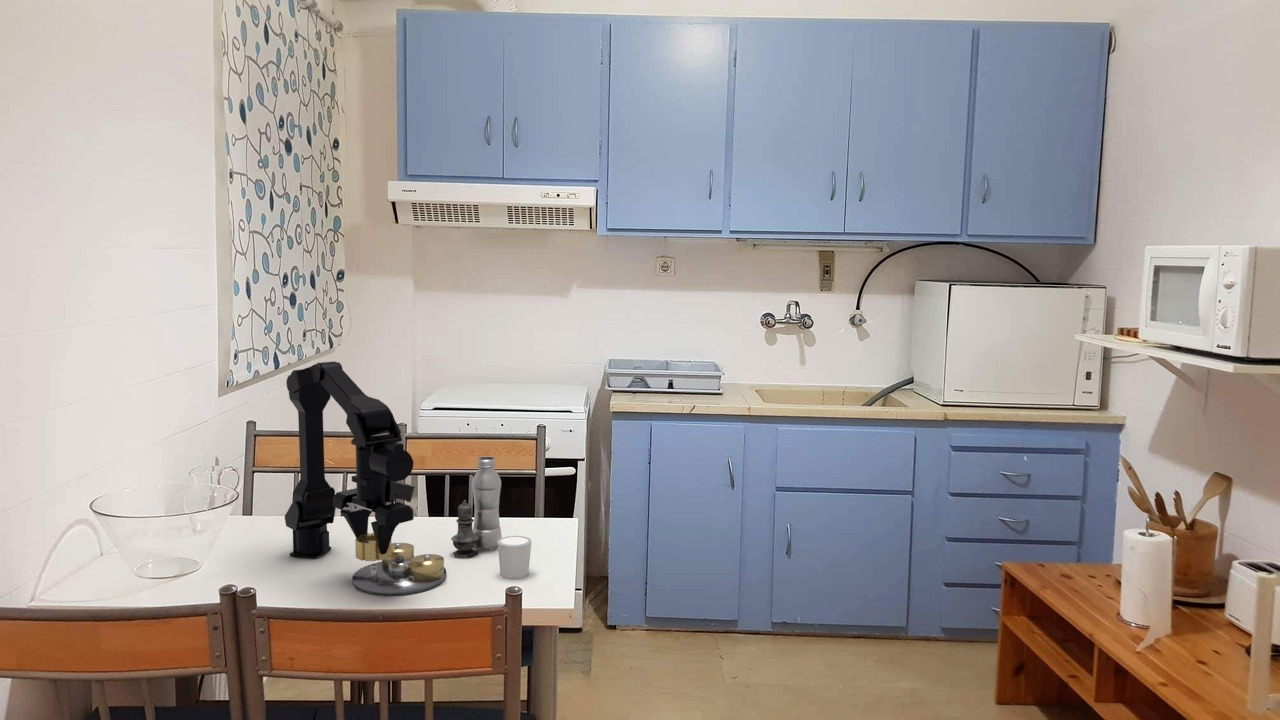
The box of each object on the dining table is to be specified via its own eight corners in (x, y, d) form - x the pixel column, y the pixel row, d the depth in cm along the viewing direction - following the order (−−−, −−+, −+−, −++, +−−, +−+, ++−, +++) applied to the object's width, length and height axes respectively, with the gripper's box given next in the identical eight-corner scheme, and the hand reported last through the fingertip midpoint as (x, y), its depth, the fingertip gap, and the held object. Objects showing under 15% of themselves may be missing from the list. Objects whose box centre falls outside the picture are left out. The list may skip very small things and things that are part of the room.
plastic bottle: (498, 541, 211) (498, 454, 209) (504, 551, 205) (504, 460, 202) (469, 544, 209) (469, 455, 207) (474, 554, 203) (473, 462, 200)
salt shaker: (473, 559, 199) (472, 504, 198) (447, 557, 200) (446, 502, 199) (483, 550, 205) (482, 496, 203) (457, 548, 206) (457, 494, 205)
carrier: (335, 591, 180) (334, 564, 180) (378, 560, 198) (377, 535, 197) (424, 599, 177) (423, 572, 176) (460, 567, 195) (459, 542, 194)
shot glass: (493, 570, 193) (493, 537, 192) (526, 566, 196) (526, 533, 195) (502, 581, 187) (502, 547, 186) (535, 577, 190) (535, 543, 189)
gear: (349, 555, 182) (349, 538, 182) (378, 547, 187) (378, 530, 187) (368, 563, 178) (368, 545, 178) (397, 555, 183) (397, 537, 182)
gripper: (436, 471, 180) (437, 550, 182) (379, 455, 192) (381, 530, 194) (386, 482, 172) (387, 565, 174) (330, 464, 184) (332, 542, 186)
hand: (373, 549), depth 182 cm, fingers closed on gear, 6 cm apart
